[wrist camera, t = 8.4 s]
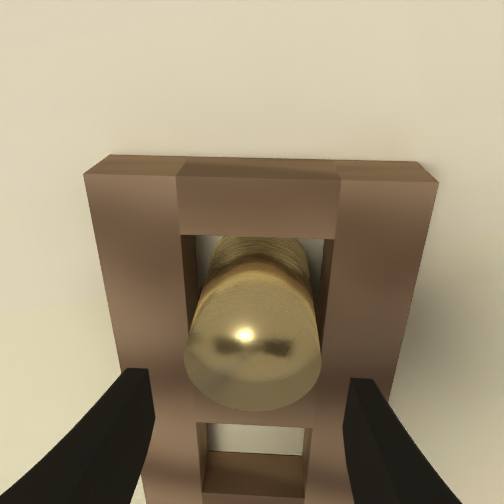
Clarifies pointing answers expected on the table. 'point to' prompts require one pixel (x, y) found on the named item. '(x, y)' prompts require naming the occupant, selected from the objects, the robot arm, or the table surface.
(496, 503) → the table surface
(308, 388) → the brass peg
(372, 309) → the frame
